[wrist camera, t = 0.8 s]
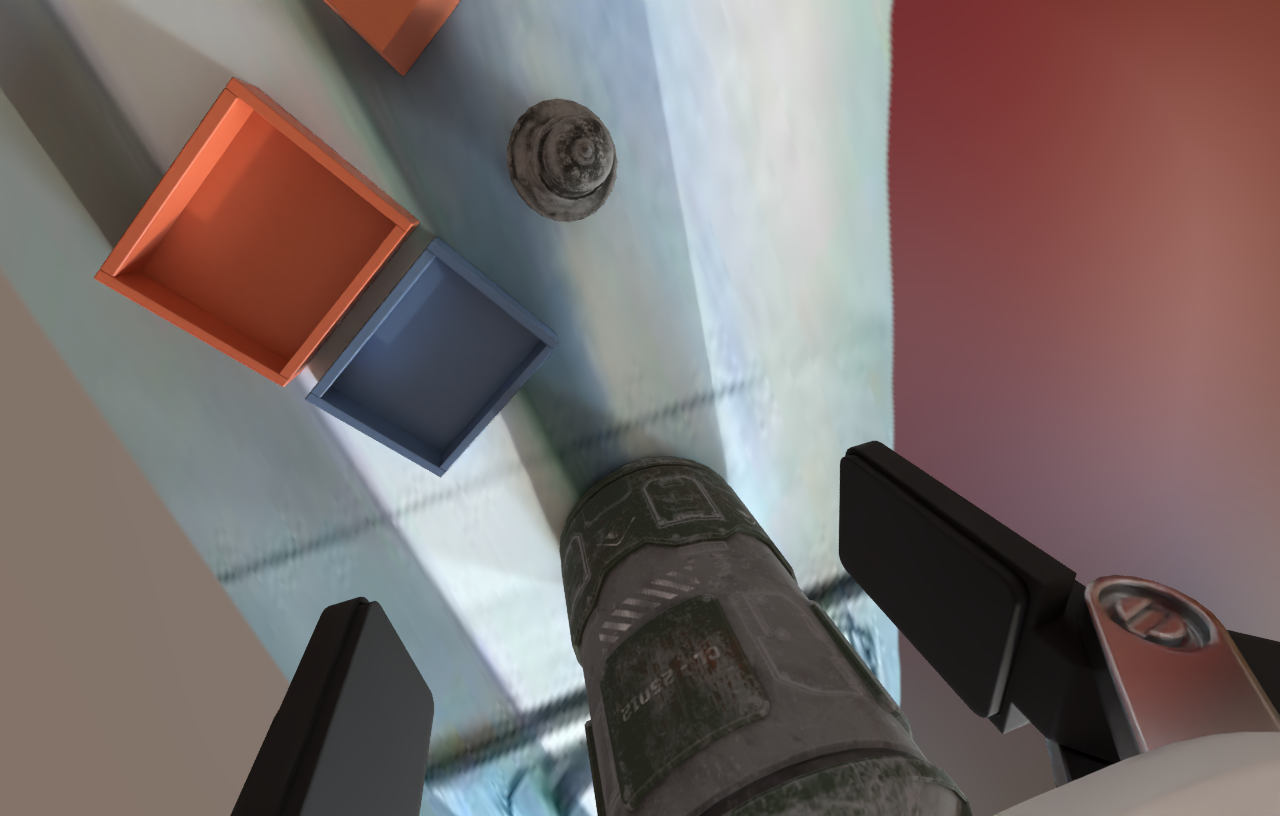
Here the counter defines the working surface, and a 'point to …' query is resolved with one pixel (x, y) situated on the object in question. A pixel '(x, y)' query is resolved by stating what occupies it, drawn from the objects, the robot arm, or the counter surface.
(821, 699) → the canister
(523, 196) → the dark chess piece
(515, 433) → the counter surface
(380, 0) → the terracotta block
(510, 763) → the counter surface
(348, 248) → the terracotta tray
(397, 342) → the blue tray
